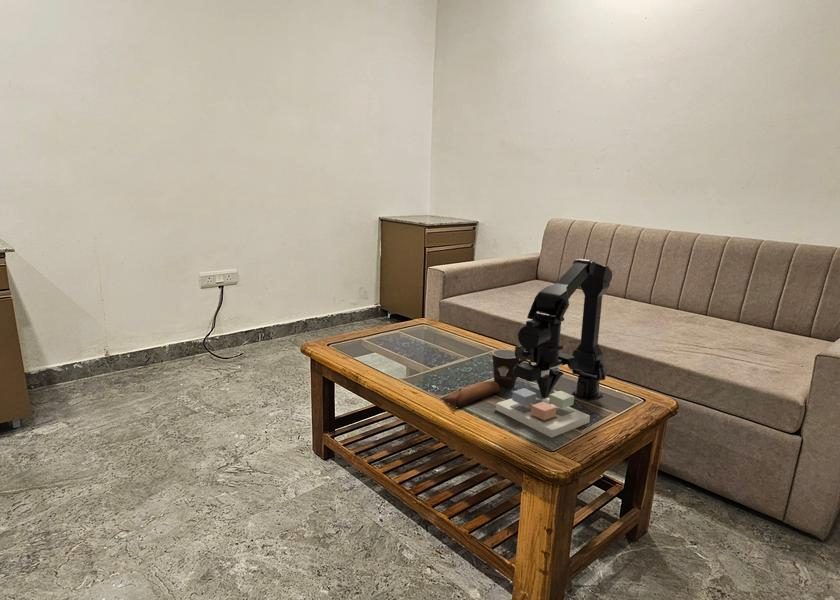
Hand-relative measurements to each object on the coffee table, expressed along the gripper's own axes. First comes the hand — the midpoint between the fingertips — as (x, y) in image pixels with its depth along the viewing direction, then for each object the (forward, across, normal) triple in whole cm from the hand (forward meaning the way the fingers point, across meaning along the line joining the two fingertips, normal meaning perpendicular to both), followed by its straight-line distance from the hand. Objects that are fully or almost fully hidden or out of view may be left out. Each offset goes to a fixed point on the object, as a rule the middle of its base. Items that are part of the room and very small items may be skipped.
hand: (544, 397), depth 144 cm
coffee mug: (+8, -12, -24) cm, 28 cm away
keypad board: (+8, -4, -4) cm, 9 cm away
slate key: (+4, 0, -7) cm, 8 cm away
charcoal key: (+4, -7, -7) cm, 11 cm away
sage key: (+4, -7, 0) cm, 8 cm away
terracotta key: (+5, 0, 0) cm, 5 cm away
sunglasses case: (+8, +4, -25) cm, 26 cm away
